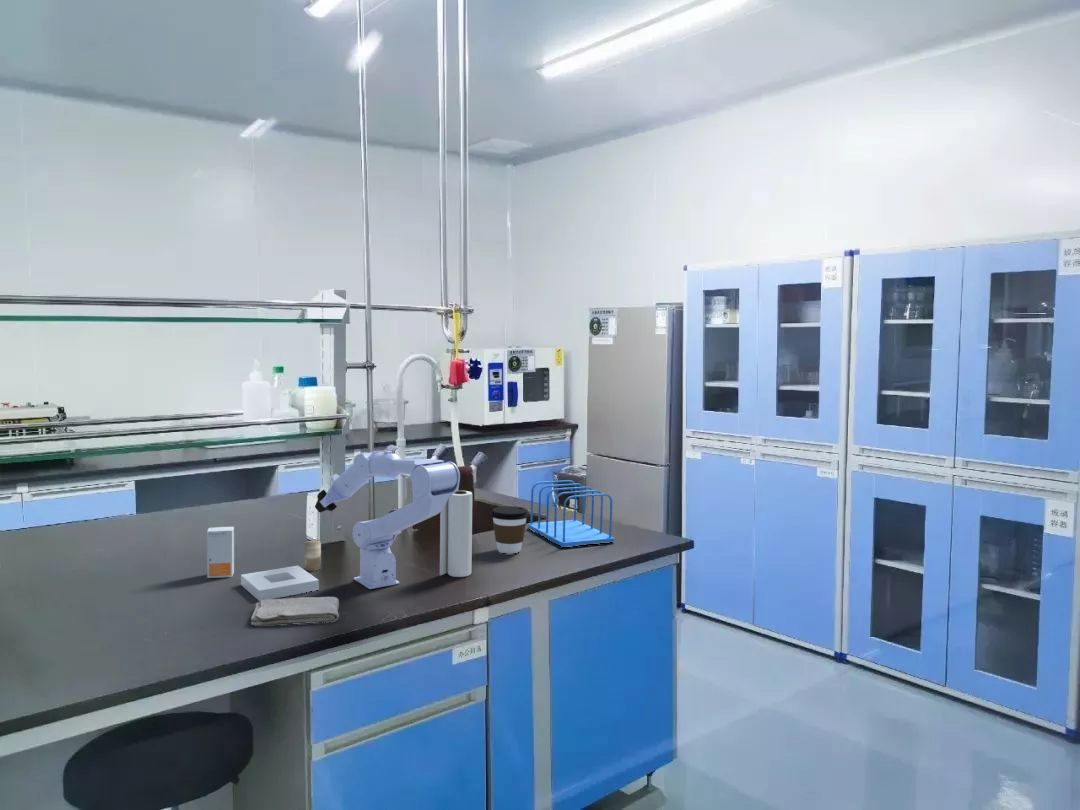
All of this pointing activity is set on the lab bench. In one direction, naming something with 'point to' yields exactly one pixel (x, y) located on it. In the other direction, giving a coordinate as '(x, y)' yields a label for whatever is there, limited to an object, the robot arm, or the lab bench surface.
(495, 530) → the coffee cup
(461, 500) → the paper towel roll
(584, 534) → the file sorter
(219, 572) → the skincare box
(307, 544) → the birch peg
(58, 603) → the lab bench surface
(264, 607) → the washcloth
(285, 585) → the socket block
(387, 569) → the robot arm
